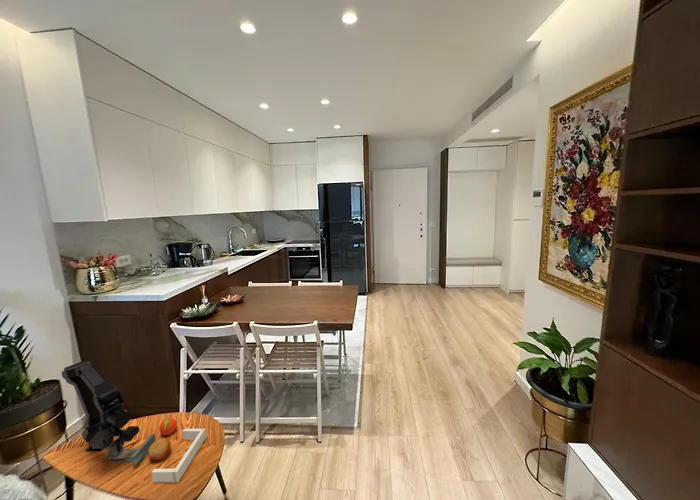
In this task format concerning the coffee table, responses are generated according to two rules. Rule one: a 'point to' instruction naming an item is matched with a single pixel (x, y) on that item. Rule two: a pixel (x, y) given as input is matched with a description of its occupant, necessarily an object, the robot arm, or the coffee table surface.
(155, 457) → the fruit
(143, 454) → the kicker
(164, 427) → the clementine
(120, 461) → the track
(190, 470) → the coffee table surface
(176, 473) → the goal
